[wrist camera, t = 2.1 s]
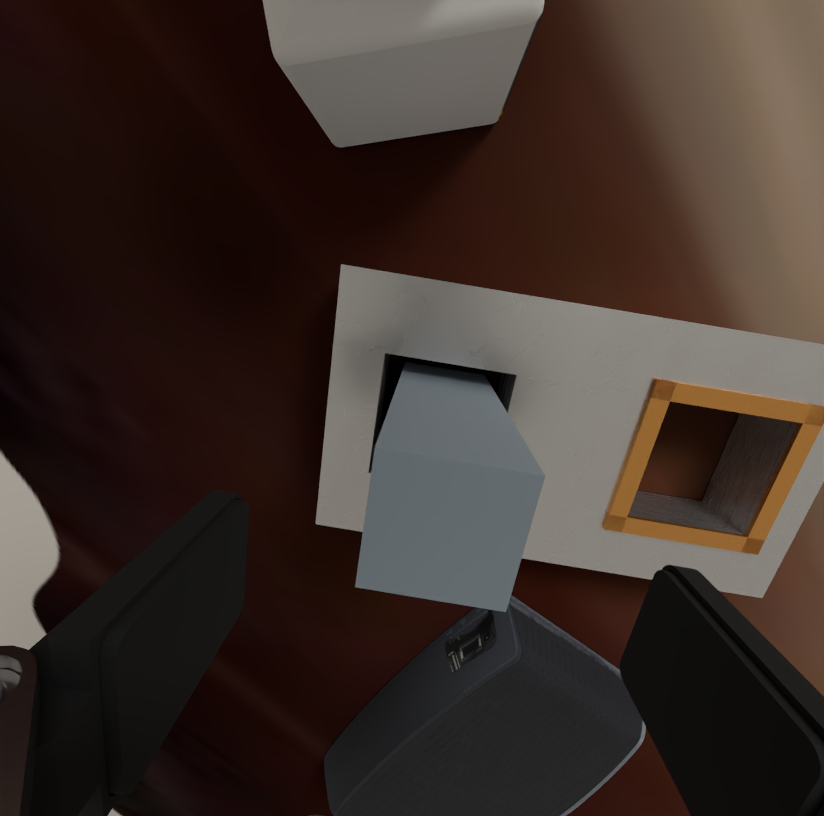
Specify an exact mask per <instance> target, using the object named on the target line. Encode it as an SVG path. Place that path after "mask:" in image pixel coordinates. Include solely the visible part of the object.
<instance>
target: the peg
mask: <svg viewBox="0 0 824 816" xmlns="http://www.w3.org/2000/svg"><path fill="white" fill-rule="evenodd" d="M544 479H545V475H544V473H543V471H542V470H541V468H540V466H539V465H538V463H537V461H536V460H535V458H534V456H533V455H532V453H531V451H530V450H529V448H528V446H527V445H526V443H525V441H524V440H523V438H522V436H521V435H520V433H519V431H518V430H517V428H516V426H515V425H514V423H513V421H512V420H511V418H510V416H509V415H508V413H507V411H506V410H505V408H504V406H503V405H502V403H501V401H500V400H499V398H498V396H497V395H496V393H495V391H494V390H493V388H492V386H491V385H490V383H489V382H488V380H487V378H486V377H485V375H481V374H475V373H469V372H463V371H457V370H451V369H445V368H439V367H433V366H427V365H421V364H415V363H409V362H405V365H404V367H403V370H402V373H401V376H400V379H399V381H398V384H397V387H396V390H395V393H394V395H393V398H392V401H391V404H390V406H389V409H388V412H387V415H386V418H385V420H384V423H383V426H382V429H381V432H380V434H379V437H378V440H377V443H376V445H375V449H374V456H373V463H372V471H371V478H370V485H369V492H368V499H367V506H366V513H365V520H364V527H363V534H362V542H361V549H360V556H359V563H358V570H357V577H356V584H355V587H357V588H363V589H369V590H375V591H381V592H387V593H393V594H399V595H405V596H412V597H418V598H424V599H430V600H436V601H442V602H448V603H454V604H460V605H466V606H472V607H478V608H484V609H490V610H496V611H502V612H506V610H507V607H508V604H509V600H510V597H511V593H512V590H513V586H514V583H515V579H516V576H517V572H518V569H519V565H520V562H521V558H522V555H523V552H524V548H525V545H526V541H527V538H528V534H529V531H530V527H531V524H532V520H533V517H534V513H535V510H536V507H537V503H538V500H539V496H540V493H541V489H542V486H543V482H544Z"/></svg>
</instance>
